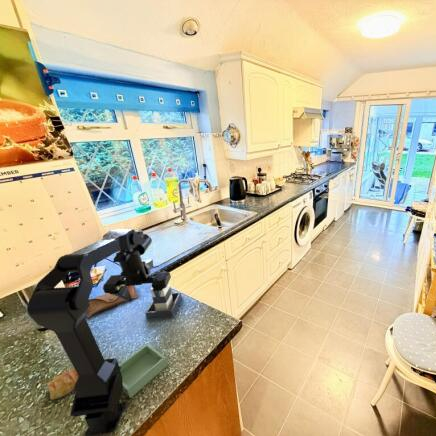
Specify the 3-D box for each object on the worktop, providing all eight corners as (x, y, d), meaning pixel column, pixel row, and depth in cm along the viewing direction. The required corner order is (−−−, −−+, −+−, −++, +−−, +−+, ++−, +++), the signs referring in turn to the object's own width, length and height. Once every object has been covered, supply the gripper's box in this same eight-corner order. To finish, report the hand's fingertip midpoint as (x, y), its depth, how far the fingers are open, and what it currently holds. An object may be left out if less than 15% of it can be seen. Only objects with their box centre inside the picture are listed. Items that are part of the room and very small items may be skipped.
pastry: (88, 364, 74) (84, 355, 72) (95, 377, 70) (92, 368, 69) (47, 389, 67) (42, 380, 65) (53, 405, 63) (48, 396, 62)
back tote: (173, 318, 92) (171, 311, 91) (146, 320, 91) (145, 312, 89) (182, 298, 102) (180, 292, 101) (158, 300, 101) (157, 293, 100)
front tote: (130, 398, 65) (127, 390, 63) (112, 380, 69) (108, 372, 68) (167, 365, 74) (165, 357, 72) (149, 351, 78) (147, 343, 77)
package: (168, 312, 94) (162, 288, 89) (156, 313, 93) (150, 288, 89) (173, 302, 99) (168, 278, 95) (162, 302, 99) (156, 279, 94)
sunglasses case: (86, 318, 90) (81, 302, 91) (87, 317, 96) (82, 301, 96) (139, 297, 102) (135, 282, 102) (138, 297, 107) (133, 283, 108)
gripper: (170, 248, 83) (179, 281, 90) (113, 251, 80) (127, 285, 88) (159, 269, 73) (170, 304, 80) (93, 273, 70) (111, 309, 78)
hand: (145, 299), depth 82 cm, fingers open, 9 cm apart
